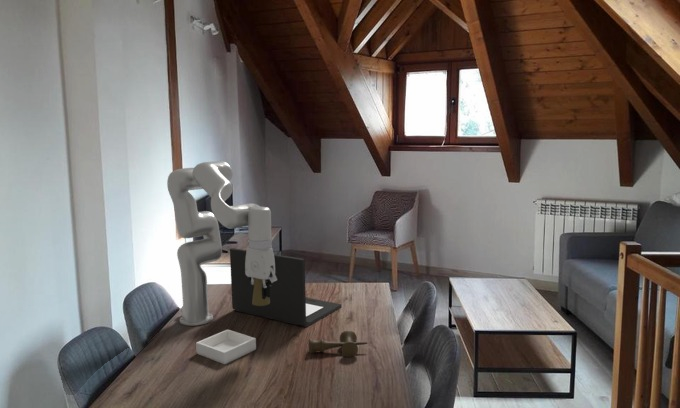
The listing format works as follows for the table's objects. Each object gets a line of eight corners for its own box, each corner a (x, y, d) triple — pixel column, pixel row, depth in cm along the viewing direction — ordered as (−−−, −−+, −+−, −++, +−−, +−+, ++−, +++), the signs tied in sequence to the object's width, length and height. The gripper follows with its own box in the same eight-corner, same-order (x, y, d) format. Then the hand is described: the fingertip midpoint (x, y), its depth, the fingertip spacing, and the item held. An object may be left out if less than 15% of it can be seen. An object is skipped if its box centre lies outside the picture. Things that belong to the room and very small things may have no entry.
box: (196, 353, 179) (196, 342, 178) (228, 339, 190) (227, 329, 189) (224, 364, 170) (224, 352, 170) (256, 349, 182) (255, 338, 181)
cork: (266, 306, 176) (266, 274, 175) (249, 305, 177) (248, 273, 176) (272, 300, 182) (271, 269, 180) (255, 299, 183) (254, 268, 182)
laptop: (341, 307, 222) (341, 245, 218) (304, 329, 200) (303, 260, 196) (272, 293, 242) (270, 236, 238) (231, 311, 219) (228, 248, 215)
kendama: (309, 348, 184) (366, 345, 184) (308, 361, 174) (369, 357, 175) (308, 332, 183) (366, 328, 183) (307, 344, 173) (368, 340, 174)
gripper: (234, 242, 178) (236, 295, 181) (271, 249, 169) (272, 305, 172) (250, 238, 184) (251, 289, 187) (286, 245, 175) (287, 298, 178)
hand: (261, 296), depth 179 cm, fingers closed on cork, 3 cm apart
